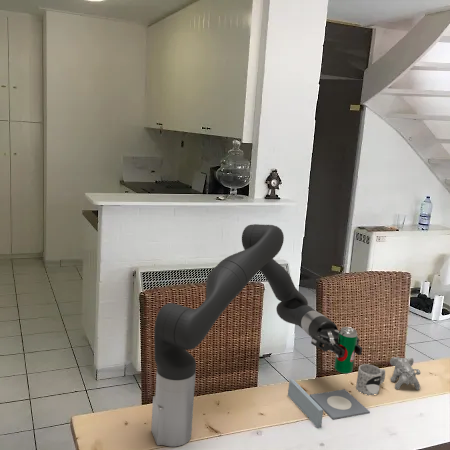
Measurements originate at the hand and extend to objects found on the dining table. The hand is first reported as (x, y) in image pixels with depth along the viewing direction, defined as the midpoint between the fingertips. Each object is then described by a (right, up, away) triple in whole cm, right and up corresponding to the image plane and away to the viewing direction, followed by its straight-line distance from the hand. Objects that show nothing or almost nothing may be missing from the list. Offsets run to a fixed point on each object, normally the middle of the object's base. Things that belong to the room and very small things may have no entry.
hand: (351, 352), depth 136 cm
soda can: (-2, -6, +4) cm, 7 cm away
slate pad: (-2, -16, +6) cm, 17 cm away
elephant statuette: (+20, -15, +21) cm, 33 cm away
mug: (+10, -15, +16) cm, 24 cm away
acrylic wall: (-13, -16, +2) cm, 21 cm away
